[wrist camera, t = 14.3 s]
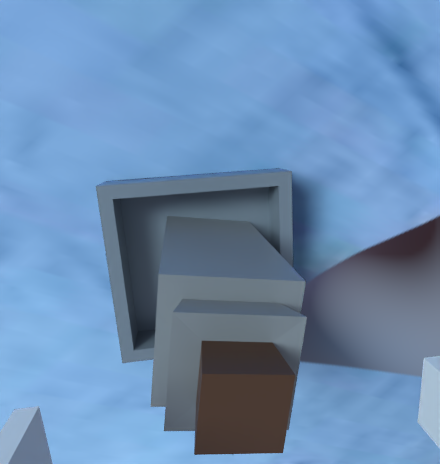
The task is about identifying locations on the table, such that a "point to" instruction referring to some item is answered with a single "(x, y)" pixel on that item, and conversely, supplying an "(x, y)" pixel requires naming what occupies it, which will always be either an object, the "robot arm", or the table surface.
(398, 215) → the table surface
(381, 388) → the table surface
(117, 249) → the tray
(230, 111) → the table surface
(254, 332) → the perfume bottle
